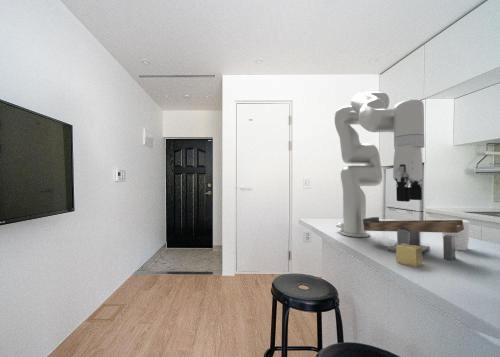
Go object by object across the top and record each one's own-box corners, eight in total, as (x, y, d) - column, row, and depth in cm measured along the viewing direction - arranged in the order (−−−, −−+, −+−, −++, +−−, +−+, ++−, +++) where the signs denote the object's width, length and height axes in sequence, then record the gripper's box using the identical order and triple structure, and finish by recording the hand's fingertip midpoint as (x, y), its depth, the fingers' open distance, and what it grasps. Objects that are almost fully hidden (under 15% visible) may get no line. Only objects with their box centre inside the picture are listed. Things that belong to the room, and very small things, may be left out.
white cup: (446, 243, 91) (445, 218, 91) (473, 248, 84) (472, 220, 85) (438, 246, 87) (437, 219, 87) (466, 252, 80) (465, 222, 80)
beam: (364, 232, 91) (362, 219, 92) (374, 230, 96) (372, 217, 96) (458, 235, 69) (454, 217, 70) (464, 231, 74) (461, 215, 74)
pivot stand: (388, 251, 81) (388, 227, 81) (404, 244, 90) (404, 223, 90) (415, 256, 75) (414, 231, 75) (429, 249, 83) (429, 226, 84)
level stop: (443, 258, 73) (443, 236, 73) (447, 256, 76) (446, 234, 76) (451, 260, 72) (451, 237, 72) (455, 257, 74) (454, 235, 74)
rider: (396, 262, 70) (396, 245, 70) (403, 259, 73) (403, 243, 73) (416, 267, 66) (415, 249, 66) (422, 263, 69) (422, 246, 69)
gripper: (405, 147, 78) (406, 198, 78) (382, 141, 68) (383, 201, 67) (433, 144, 72) (434, 200, 72) (412, 137, 62) (413, 202, 61)
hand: (409, 200), depth 70 cm, fingers open, 9 cm apart
